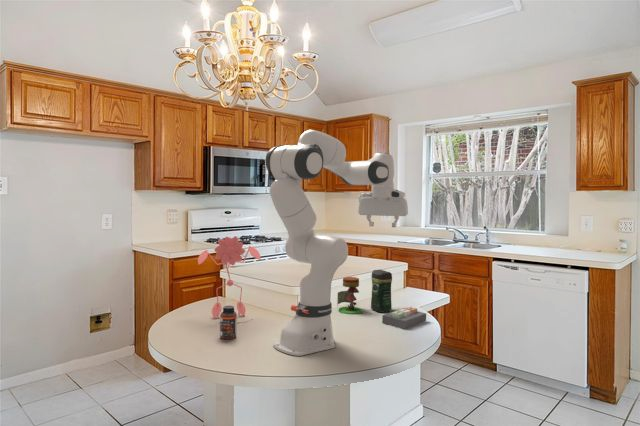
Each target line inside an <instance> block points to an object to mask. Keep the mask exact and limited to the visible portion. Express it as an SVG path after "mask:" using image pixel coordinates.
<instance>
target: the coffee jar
mask: <svg viewBox="0 0 640 426" xmlns="http://www.w3.org/2000/svg"><path fill="white" fill-rule="evenodd" d="M392 283H393V274H392V272H391V271H387V270H383V269H373V271H372V272H371V297H370V298H371V300H370V309H371V310H373V311H374V312H378V313H390V312H392Z"/></svg>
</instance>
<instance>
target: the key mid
mask: <svg viewBox="0 0 640 426" xmlns="http://www.w3.org/2000/svg"><path fill="white" fill-rule="evenodd" d="M401 309H402V310H400V309H398V310H399V312H402V313H404V316H410V315H411V311H410V310H406V308H405V309H403V308H401Z"/></svg>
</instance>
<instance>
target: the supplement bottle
mask: <svg viewBox="0 0 640 426" xmlns="http://www.w3.org/2000/svg"><path fill="white" fill-rule="evenodd" d="M237 315H238V313H237V312H236V311H235V306H234V305H224V306H222V312H220V314H219V316H220V317H219V319H220V321H219V323H220V324H219V337H220V338H221V339H223V340H232V339H235V338H236V337H237V324H238V322H237V321H238V320H237V319H238V318H237V317H238V316H237Z"/></svg>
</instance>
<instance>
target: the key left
mask: <svg viewBox="0 0 640 426" xmlns="http://www.w3.org/2000/svg"><path fill="white" fill-rule="evenodd" d="M395 311H396V312H394V311H391V312H392V317H394V318H398V319H401V318H404V313H402V312H398V311H397V310H395Z"/></svg>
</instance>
